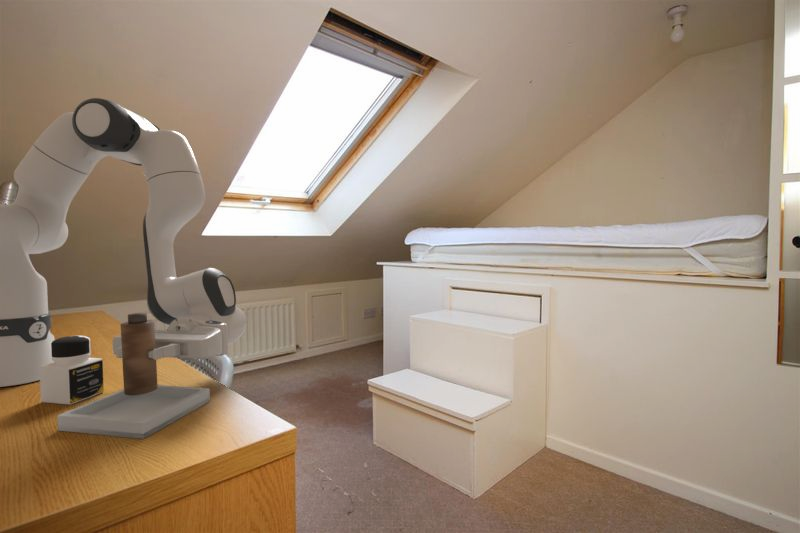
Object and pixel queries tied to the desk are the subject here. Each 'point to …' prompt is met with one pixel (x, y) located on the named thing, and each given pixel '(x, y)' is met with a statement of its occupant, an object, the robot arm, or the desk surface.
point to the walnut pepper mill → (138, 355)
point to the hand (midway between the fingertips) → (135, 354)
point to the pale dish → (134, 412)
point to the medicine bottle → (71, 372)
